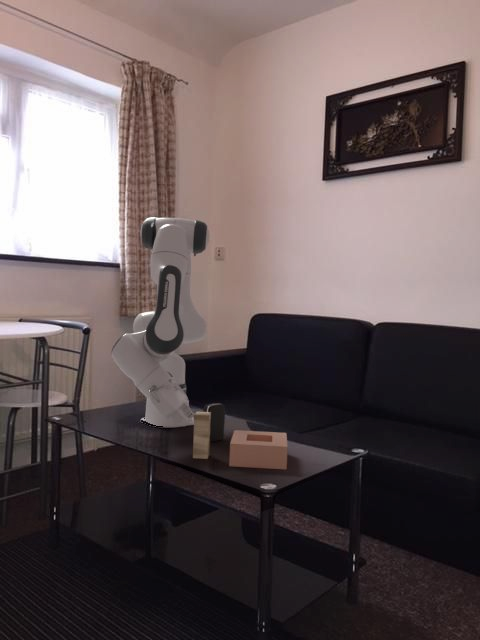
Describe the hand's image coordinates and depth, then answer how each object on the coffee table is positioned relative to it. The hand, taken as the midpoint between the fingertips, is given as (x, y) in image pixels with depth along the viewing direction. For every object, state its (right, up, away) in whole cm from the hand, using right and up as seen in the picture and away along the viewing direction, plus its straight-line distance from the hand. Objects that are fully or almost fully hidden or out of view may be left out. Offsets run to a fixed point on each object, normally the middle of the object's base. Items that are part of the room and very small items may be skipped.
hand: (189, 420), depth 149 cm
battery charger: (+5, -10, +18) cm, 21 cm away
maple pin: (+3, -10, 0) cm, 10 cm away
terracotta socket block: (+19, -11, -1) cm, 22 cm away
